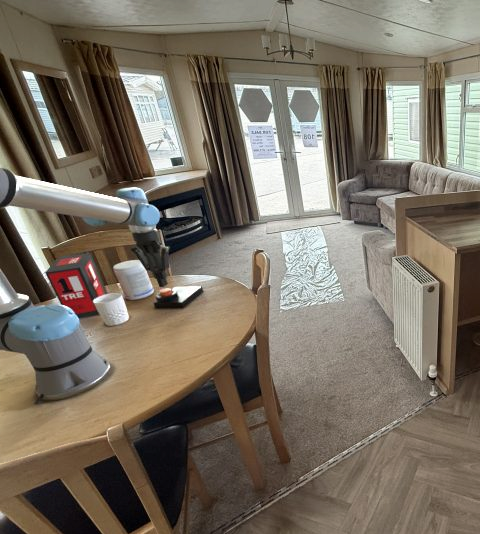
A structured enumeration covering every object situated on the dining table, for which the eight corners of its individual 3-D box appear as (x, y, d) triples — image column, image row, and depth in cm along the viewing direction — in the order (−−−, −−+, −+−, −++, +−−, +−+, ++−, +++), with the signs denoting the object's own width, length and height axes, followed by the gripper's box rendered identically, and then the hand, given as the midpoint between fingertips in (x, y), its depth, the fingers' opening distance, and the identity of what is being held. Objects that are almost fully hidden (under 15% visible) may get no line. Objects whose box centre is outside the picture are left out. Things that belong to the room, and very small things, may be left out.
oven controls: (183, 308, 137) (180, 298, 135) (154, 308, 136) (150, 298, 134) (203, 291, 149) (200, 282, 147) (176, 291, 149) (173, 282, 147)
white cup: (136, 316, 130) (127, 293, 126) (117, 327, 123) (106, 304, 119) (118, 314, 131) (108, 292, 127) (97, 326, 124) (86, 302, 120)
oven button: (168, 297, 136) (166, 292, 136) (158, 297, 136) (156, 292, 135) (174, 292, 140) (173, 287, 139) (164, 292, 140) (163, 288, 139)
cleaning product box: (100, 314, 131) (79, 267, 123) (69, 320, 127) (45, 272, 118) (108, 296, 144) (90, 252, 135) (80, 301, 139) (59, 256, 131)
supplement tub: (158, 289, 150) (147, 258, 144) (147, 299, 142) (135, 267, 136) (133, 291, 148) (121, 260, 142) (120, 301, 140) (106, 269, 134)
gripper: (168, 227, 130) (186, 281, 140) (133, 226, 130) (153, 281, 139) (155, 233, 124) (174, 289, 133) (117, 233, 123) (139, 290, 133)
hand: (163, 285), depth 136 cm, fingers closed
